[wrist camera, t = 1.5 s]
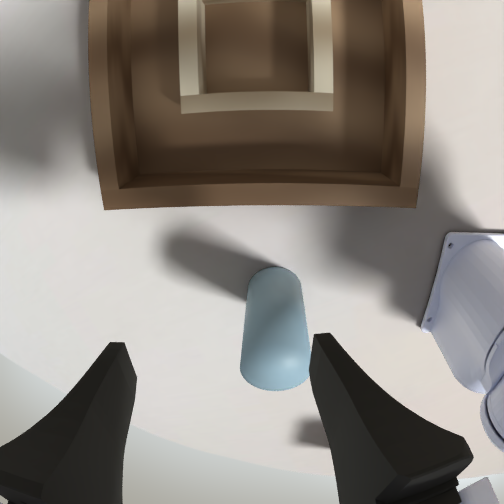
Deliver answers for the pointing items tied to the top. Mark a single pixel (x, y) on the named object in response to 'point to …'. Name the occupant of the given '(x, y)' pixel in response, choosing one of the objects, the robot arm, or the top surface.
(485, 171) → the top surface
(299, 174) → the walnut box
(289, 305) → the peg
